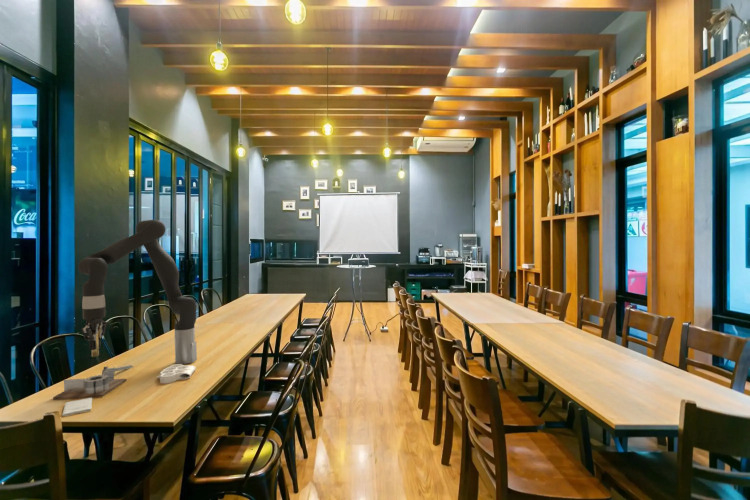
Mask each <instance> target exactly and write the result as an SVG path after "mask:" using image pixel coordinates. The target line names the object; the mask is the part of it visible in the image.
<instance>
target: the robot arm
mask: <svg viewBox="0 0 750 500" xmlns="http://www.w3.org/2000/svg"><path fill="white" fill-rule="evenodd" d="M135 229H136V230H135V231H136V233H134V234H132V235H129V236H127V237H124V238H122V239H120V240H117V241H116V242H113V243H112V244H110V245H108V246H107V247H105V248H104V249H102V250H100V251H97V252H95V253H93V254H90V255H87V256H85V257H84V258H82V260H80V261H79V263H78V265H77V270H78V271H79V273H81V274H82V275H85V276H88V280H87V281H85V282H83V284H82V302H81V303H82V305H81V306H82V319H83V320H85V326H84V327H81V333H82V336H83V339H84V340H85V341H88V343H89V350H90V351H92V350H95V349H96V335H97V334H98V339H99V349H100V348H101V346H102V345H101V344H102V343H101V339H102V337H104V335H105V333H106V328H107V325H108V322H107V321H104V320H103V318H105V317H106V298H105V283H106V279H107V274H108V269H109V268H108V265H113V264H115V263H117V262H119V261H120V260H122V259H124V258H125V257H126V256H128V255H129V254H131V253H132V252H135V250H137V249H140V248H141V247H144V249H145V250H146V252H147V254H148V256H149V259H150V261H151V262H152V265H153V267H154V270H155V272H156V275H157V277H158V279H159V280H160V283H161V286H162V288H163V290H164V292H165V296H166V298H167V301H168V305H169V307H170V310H171V312H172V313H173V314H175V315H178V316H179V321H178V322H176V323H174V327H173V328H174V357H175V358H174V362H175V364H182V365H185V364H186V365H187V364H193V363H195V361H197V359H198V357H197V355H198V354H197V353H198V352H197V341H195V339H196V337H195V336H196V334H195V331H196V330H195V324H196V321H197V302H196V300H195V299H194V298H193V297H188V296H183V294H182V291H181V289H180V286H179V280H180V271H179V269H178V266H177V264H176V262H175V260H174V258H173V257H172V256H171V255H170V254H169V253H168V252H167V251H166V250H165V249H164V248H163V247H162V246H161V244H160V242H159V240H158V239H161V238H162V237H164V235H165V233H166V226H165V224H164V222H162V221H161V220H158V219H148V220H147V219H146V220H140V221H139V222H138V223H137V224H136V227H135ZM91 332H94V333H91ZM92 335H93V336H92Z"/></svg>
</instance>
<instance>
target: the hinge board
mask: <svg viewBox="0 0 750 500" xmlns="http://www.w3.org/2000/svg"><path fill="white" fill-rule="evenodd" d="M126 382H127V378H114V380H113V381H111V382H110V383H109V389H107V390H106V391H103V392H100V393H94V394H85V393H84V391H80V392H64V390H63V391H62V392H59V393H57V394H56V395H54V396H52V400H53V401H55V400H72V399H86V398H103V397H105V396H106V395H107V394H109V393H110V392H112V391H113V390H115V389H116V388H118V387H119V386H121V385H122V384H124V383H126Z"/></svg>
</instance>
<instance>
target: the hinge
mask: <svg viewBox="0 0 750 500" xmlns="http://www.w3.org/2000/svg"><path fill="white" fill-rule="evenodd" d="M114 374H115V373H114V369H111V370H109V371H107V372H105V373H104V374H102V373H101V374H98V375H96V374H95V375H92V376H89V377H86V378H69V379H67V378H66V379H64V380H63V391H64V392H80V391H84V393H85V394H94V393H100V392H103V391H106V390H107V389H109V383H110V382H111V381H113V380H114V379H115V377H114V376H115V375H114Z"/></svg>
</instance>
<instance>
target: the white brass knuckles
mask: <svg viewBox="0 0 750 500" xmlns="http://www.w3.org/2000/svg"><path fill="white" fill-rule="evenodd" d="M196 370H197V368H196V366H195V365H192V364H191V365H189V364H188V365H187V364H186V365H185V364H176V363H175V364H171V365H169V366H168V367H165V368H163V369H162V371H160V372H159V375H157V376H156V378H158V379H159V382H160V384H170V383H171V384H172V383H174V382H175V381H180V380H189V379H190V378H191V376H192V375H193V374H194V372H195V371H196Z"/></svg>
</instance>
